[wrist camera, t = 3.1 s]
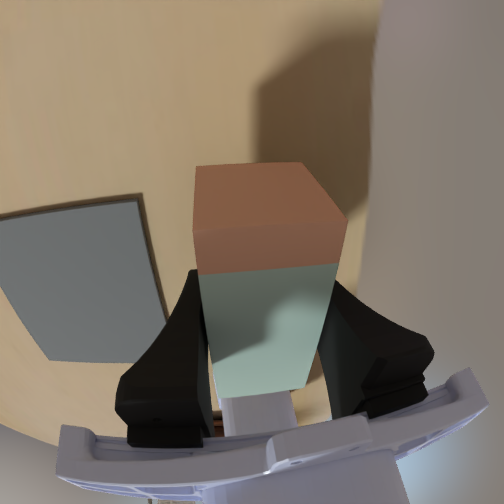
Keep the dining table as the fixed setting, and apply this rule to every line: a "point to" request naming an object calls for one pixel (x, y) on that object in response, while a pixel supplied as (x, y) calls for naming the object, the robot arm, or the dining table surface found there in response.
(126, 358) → the rubber mat
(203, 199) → the green and orange block
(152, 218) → the dining table surface
